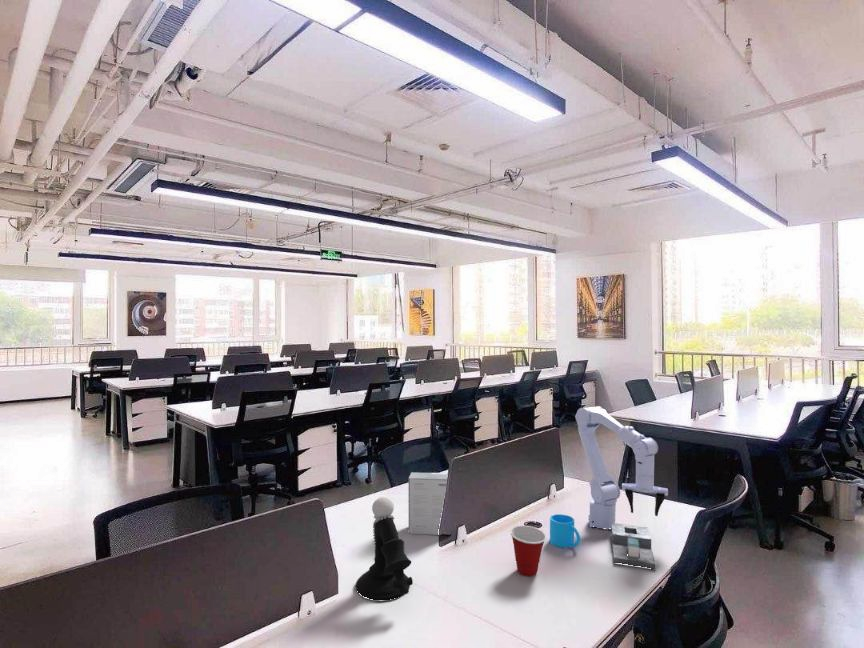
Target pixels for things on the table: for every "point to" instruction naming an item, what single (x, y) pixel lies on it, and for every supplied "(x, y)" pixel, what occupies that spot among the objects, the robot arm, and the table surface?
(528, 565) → the plastic cup
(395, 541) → the sculpture
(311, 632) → the table surface
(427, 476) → the hard drive box
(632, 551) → the plug
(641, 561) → the patch panel
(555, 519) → the mug
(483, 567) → the table surface
